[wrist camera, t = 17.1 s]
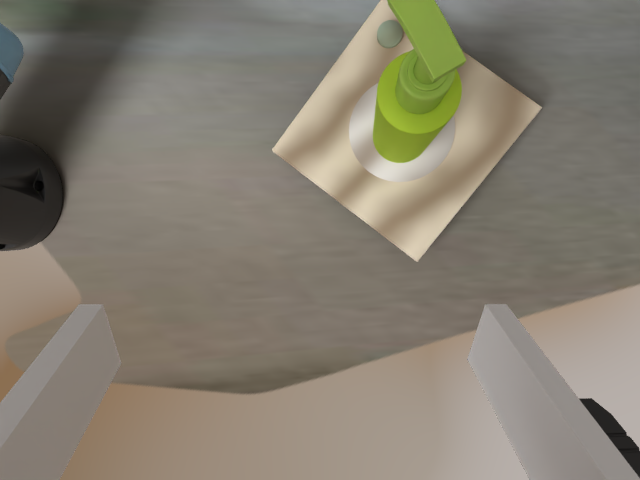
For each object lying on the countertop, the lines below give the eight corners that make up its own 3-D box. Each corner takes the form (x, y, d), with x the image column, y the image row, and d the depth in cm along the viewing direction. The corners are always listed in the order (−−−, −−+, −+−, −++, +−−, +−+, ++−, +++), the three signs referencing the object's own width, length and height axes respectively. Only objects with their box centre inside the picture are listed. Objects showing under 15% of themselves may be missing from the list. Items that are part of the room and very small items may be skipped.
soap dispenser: (407, 87, 39) (452, -54, 19) (439, 145, 39) (518, 64, 19) (357, 116, 40) (352, 10, 20) (389, 173, 40) (415, 123, 20)
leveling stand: (281, 158, 46) (270, 149, 41) (382, 20, 44) (384, -9, 38) (411, 257, 45) (418, 262, 39) (521, 121, 43) (544, 105, 37)
